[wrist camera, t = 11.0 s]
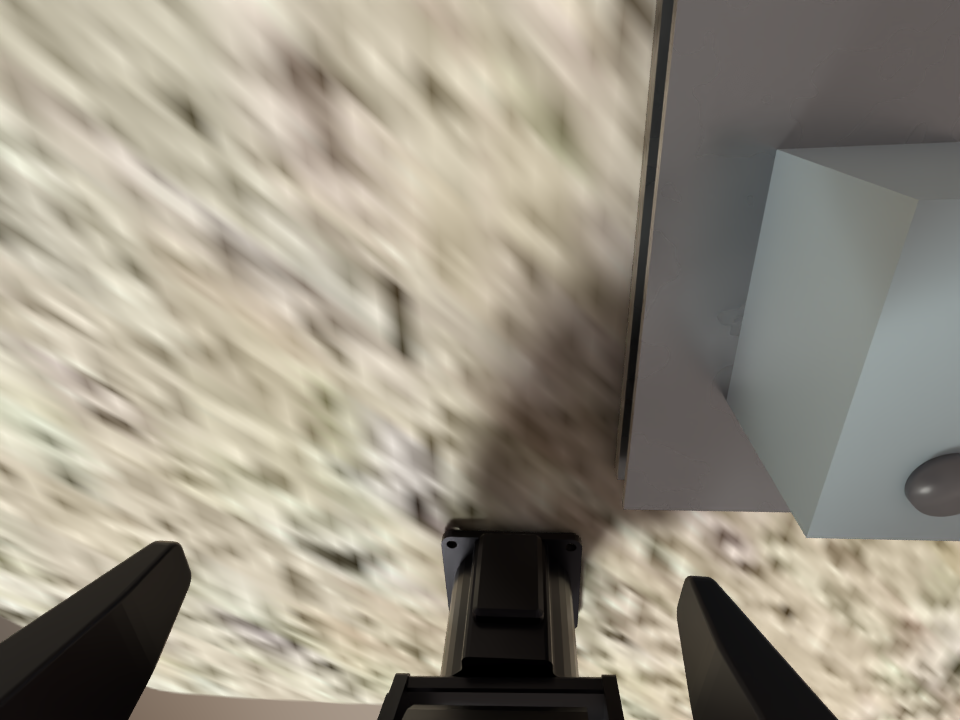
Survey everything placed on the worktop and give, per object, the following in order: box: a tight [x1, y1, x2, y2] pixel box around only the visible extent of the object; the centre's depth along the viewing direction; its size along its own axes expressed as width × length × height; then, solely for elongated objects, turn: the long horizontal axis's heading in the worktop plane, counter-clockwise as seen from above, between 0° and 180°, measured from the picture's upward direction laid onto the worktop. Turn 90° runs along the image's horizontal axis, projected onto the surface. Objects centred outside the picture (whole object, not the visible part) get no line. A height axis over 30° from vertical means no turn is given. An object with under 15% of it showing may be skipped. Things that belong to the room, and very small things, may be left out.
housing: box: [726, 142, 960, 541], centre depth 13 cm, size 5×8×6 cm, turn 3°
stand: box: [615, 0, 960, 512], centre depth 17 cm, size 18×11×2 cm, turn 3°
